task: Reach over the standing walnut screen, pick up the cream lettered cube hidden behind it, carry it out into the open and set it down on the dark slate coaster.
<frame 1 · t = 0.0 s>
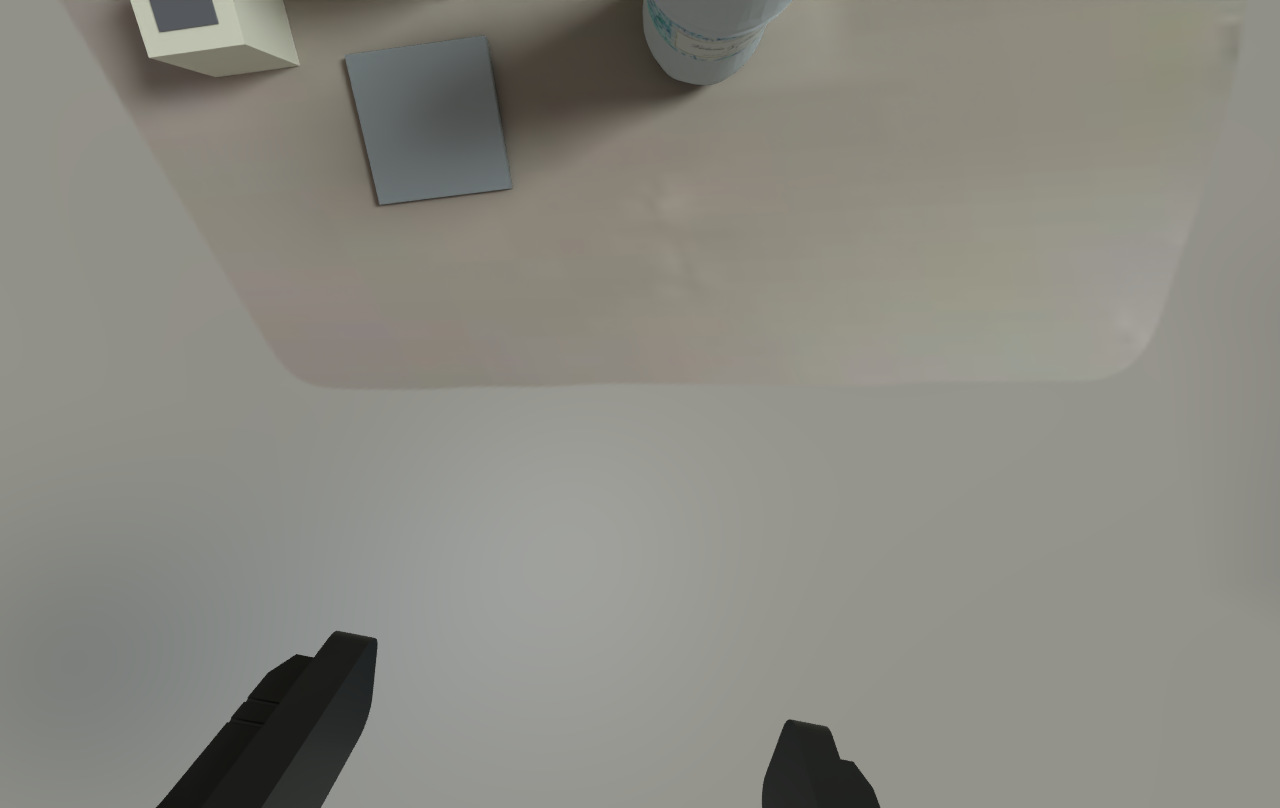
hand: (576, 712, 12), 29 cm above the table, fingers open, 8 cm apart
slate coaster: (432, 124, 36), on the table
bottle: (700, 29, 34), on the table
letter cube: (245, 22, 34), on the table
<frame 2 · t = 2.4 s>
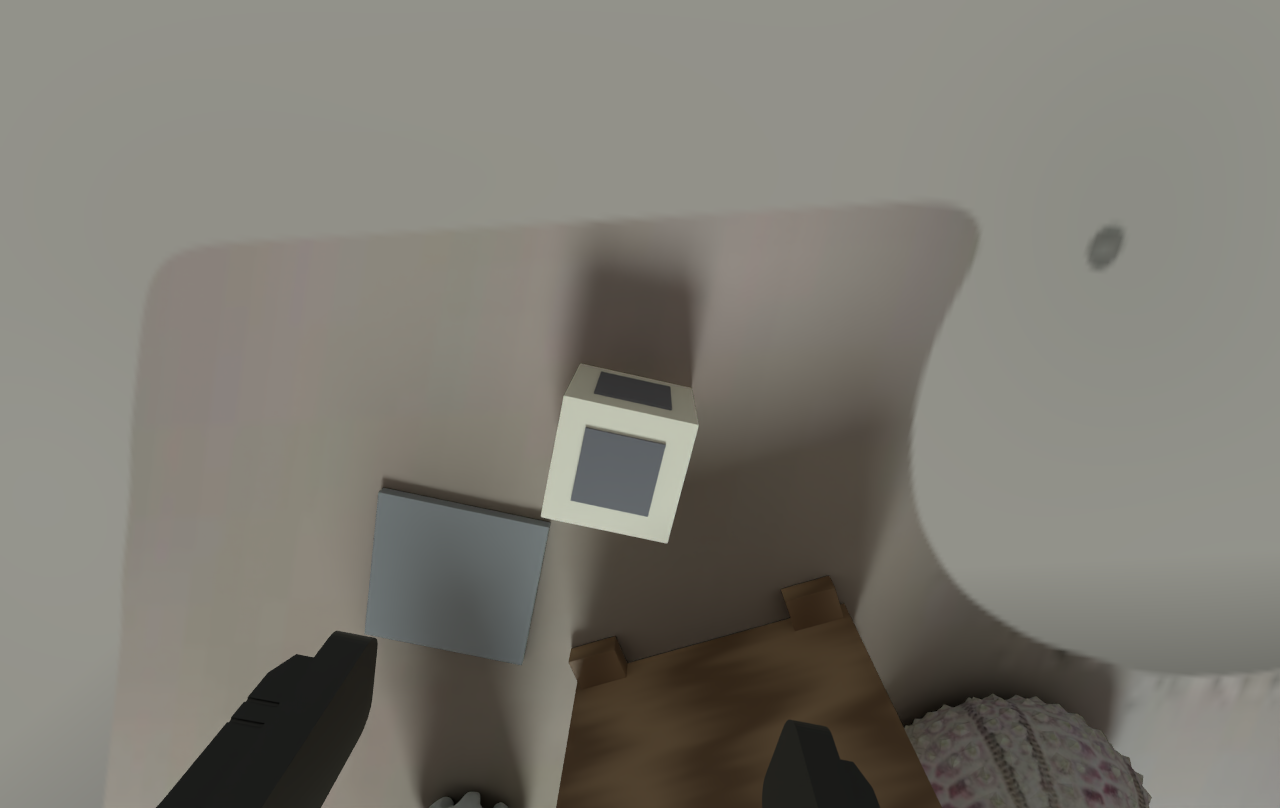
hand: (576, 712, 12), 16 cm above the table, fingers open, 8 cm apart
sea urchin shell: (968, 767, 33), on the table
slate coaster: (456, 576, 30), on the table
walnut screen: (711, 652, 31), on the table
letter cube: (624, 427, 28), on the table
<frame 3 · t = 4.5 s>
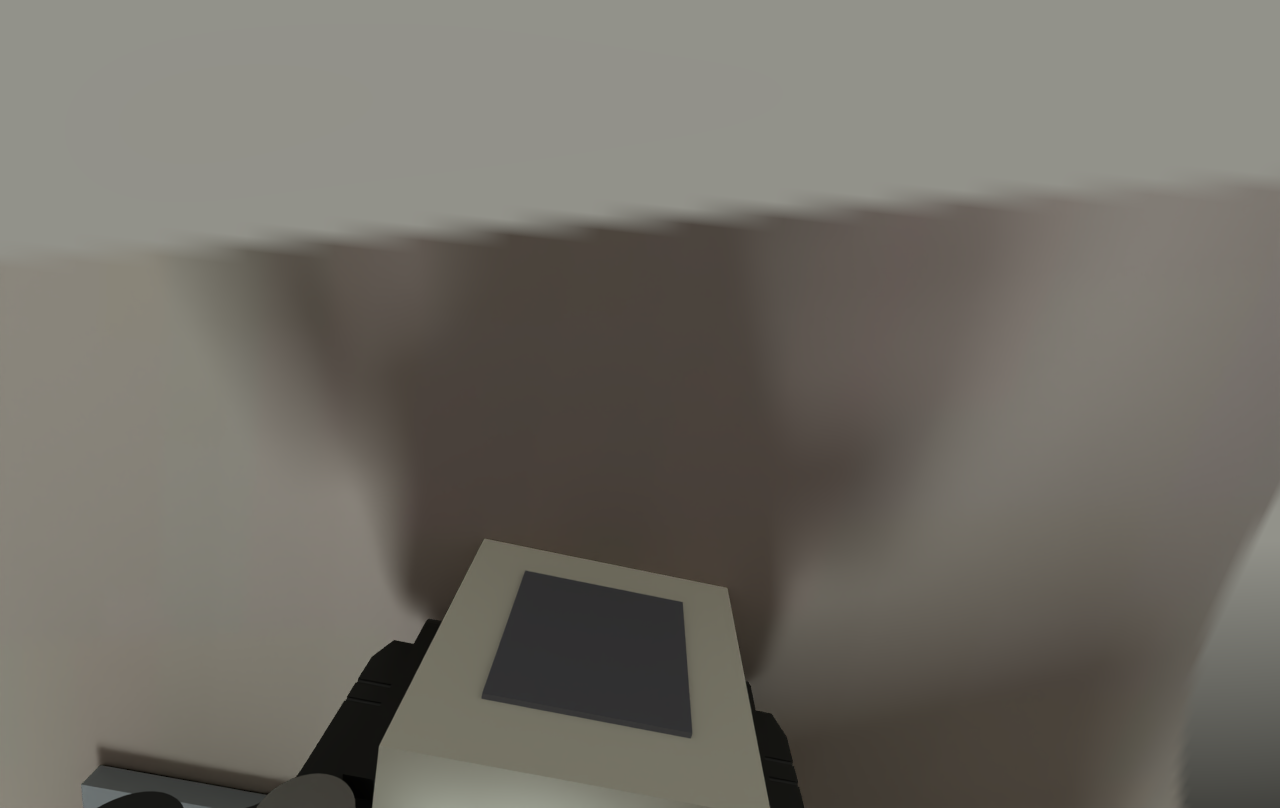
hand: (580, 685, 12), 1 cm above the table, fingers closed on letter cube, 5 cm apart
letter cube: (584, 659, 13), on the table, touching gripper
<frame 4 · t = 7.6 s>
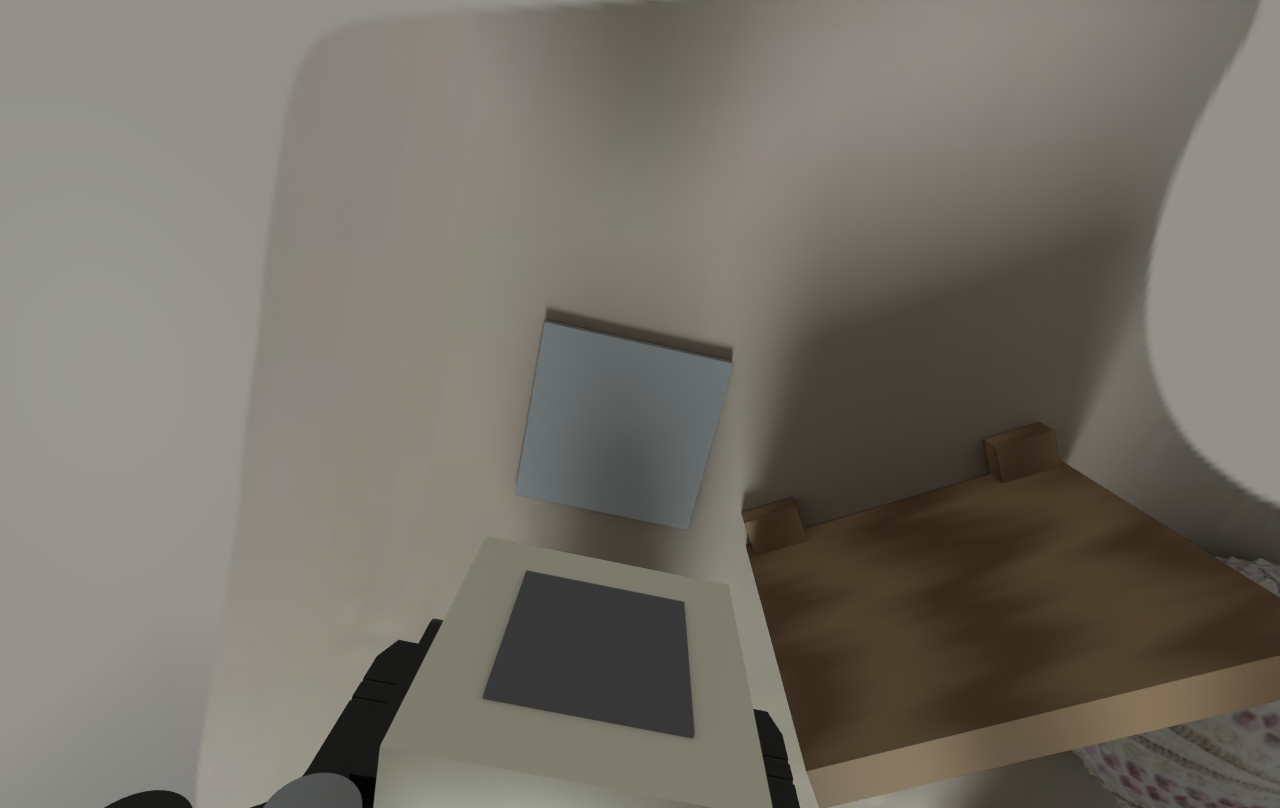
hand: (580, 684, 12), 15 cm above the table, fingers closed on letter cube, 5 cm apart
sea urchin shell: (1164, 651, 30), on the table
slate coaster: (620, 427, 27), on the table
walnut screen: (898, 516, 28), on the table
letter cube: (585, 659, 13), point 15 cm above the table, touching gripper
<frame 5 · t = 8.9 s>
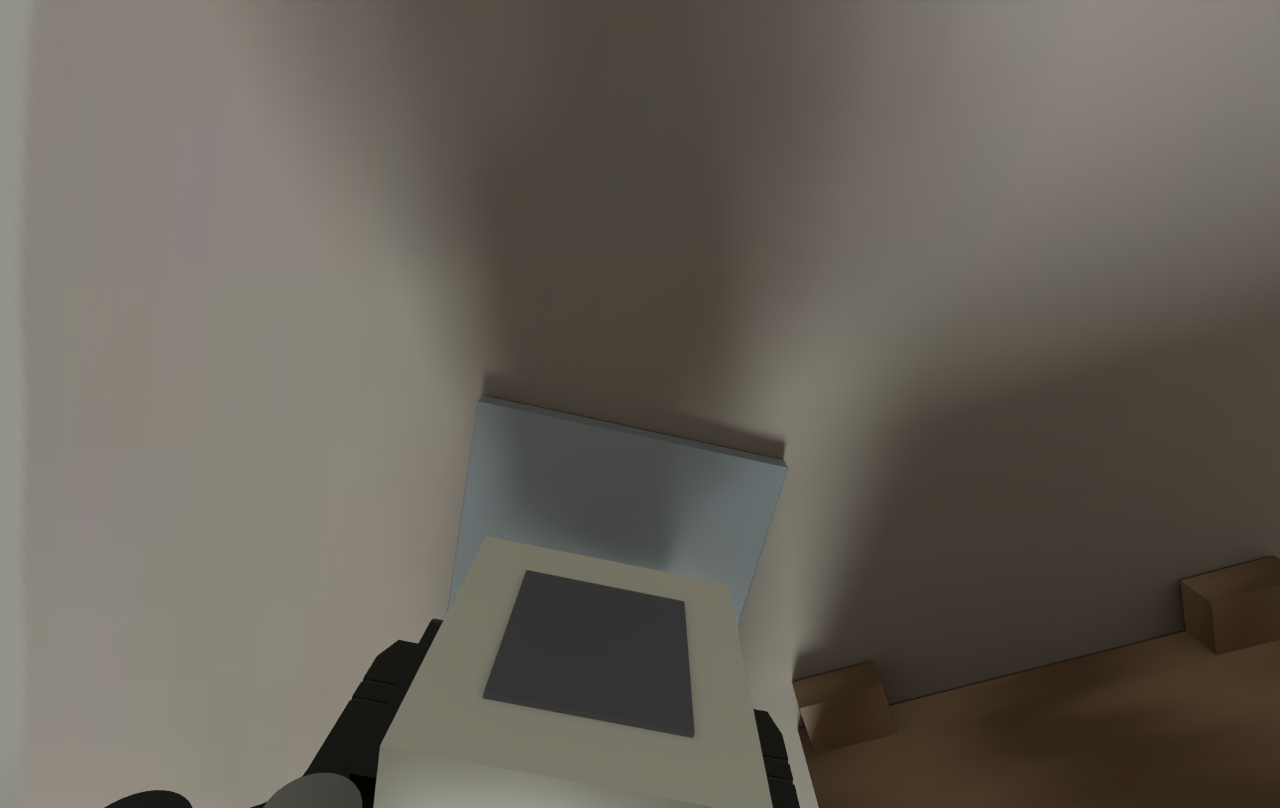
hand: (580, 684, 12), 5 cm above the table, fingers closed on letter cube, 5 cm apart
slate coaster: (605, 559, 17), on the table
walnut screen: (1034, 689, 18), on the table
letter cube: (585, 659, 13), point 4 cm above the table, touching gripper
when the fingers open (3 cm above the table, at t = 10.2 s): letter cube drops 2 cm, resting on slate coaster.
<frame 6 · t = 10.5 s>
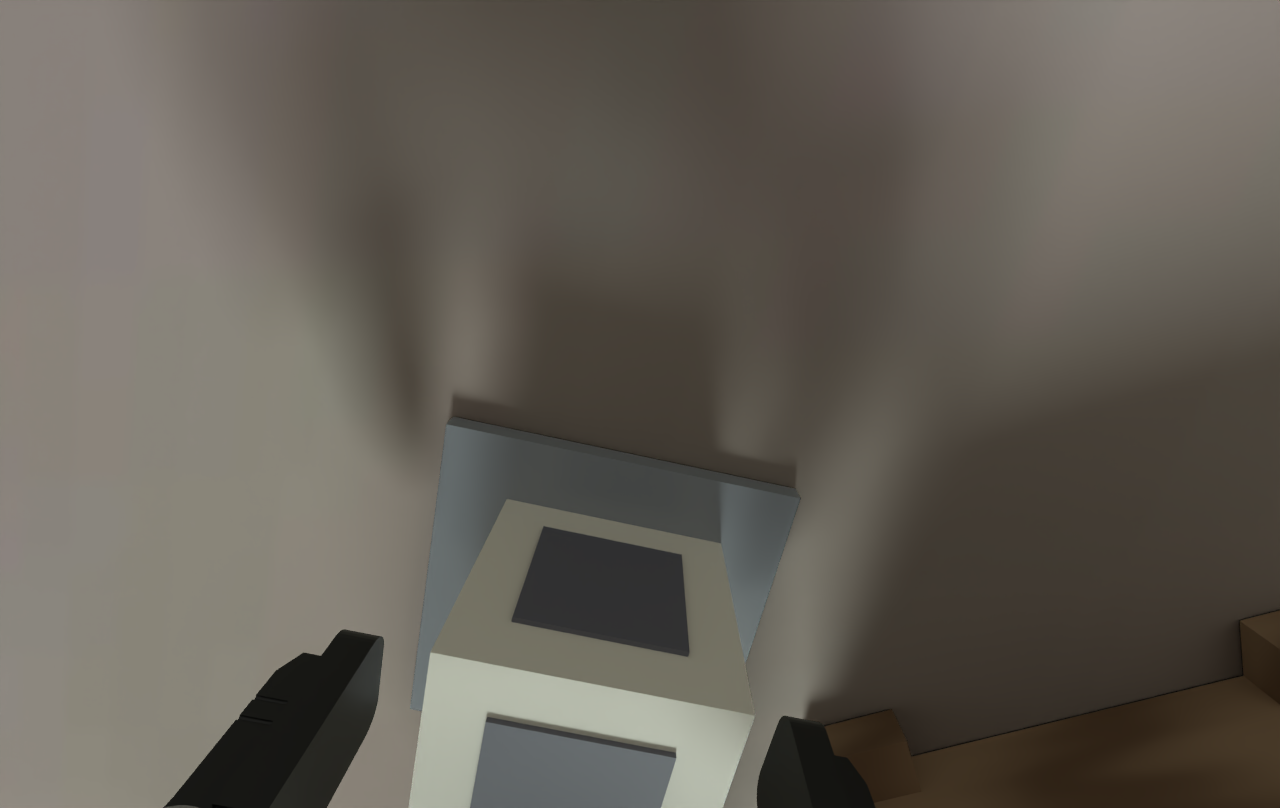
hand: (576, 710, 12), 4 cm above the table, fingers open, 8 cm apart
slate coaster: (593, 598, 15), on the table
walnut screen: (1073, 739, 16), on the table
letter cube: (593, 611, 15), resting on slate coaster
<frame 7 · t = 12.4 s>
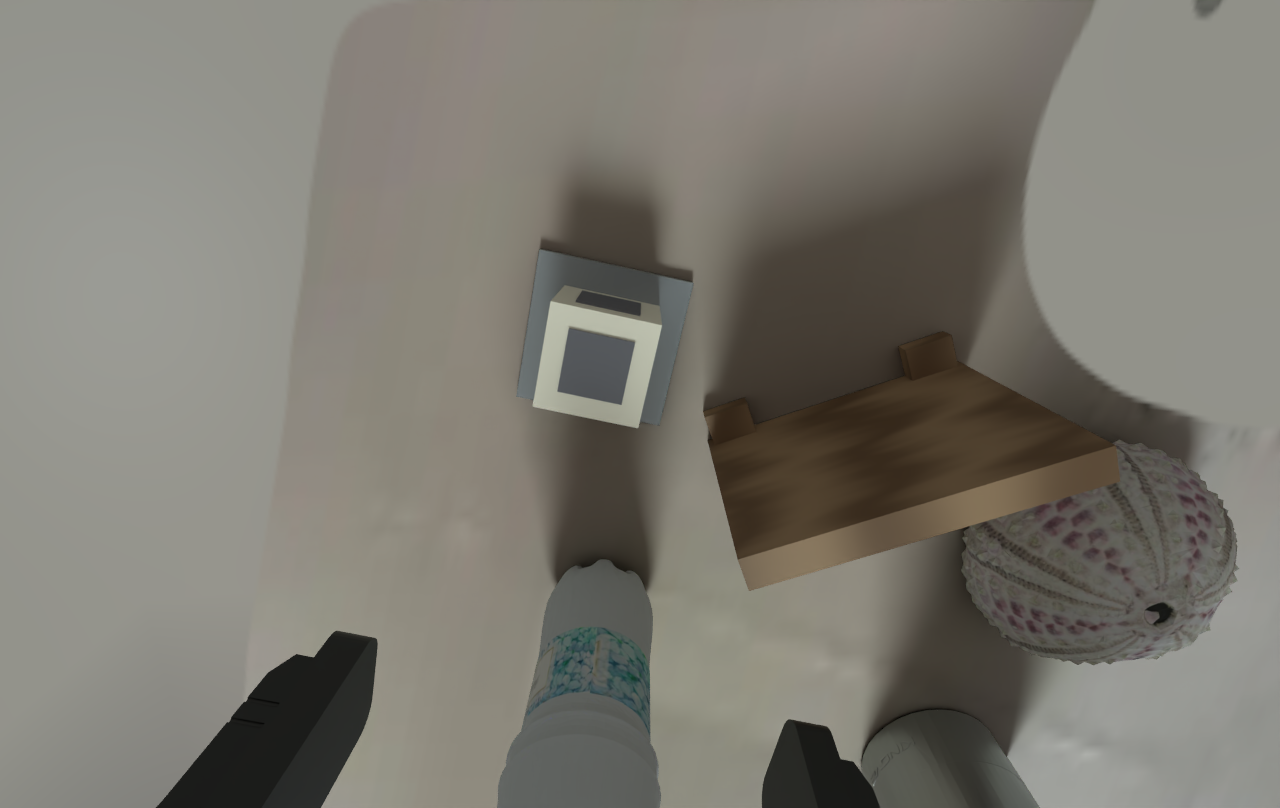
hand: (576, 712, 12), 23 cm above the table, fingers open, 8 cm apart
sea urchin shell: (1054, 527, 37), on the table
slate coaster: (602, 339, 33), on the table
walnut screen: (831, 412, 34), on the table
bottle: (601, 591, 38), on the table
letter cube: (603, 341, 32), resting on slate coaster
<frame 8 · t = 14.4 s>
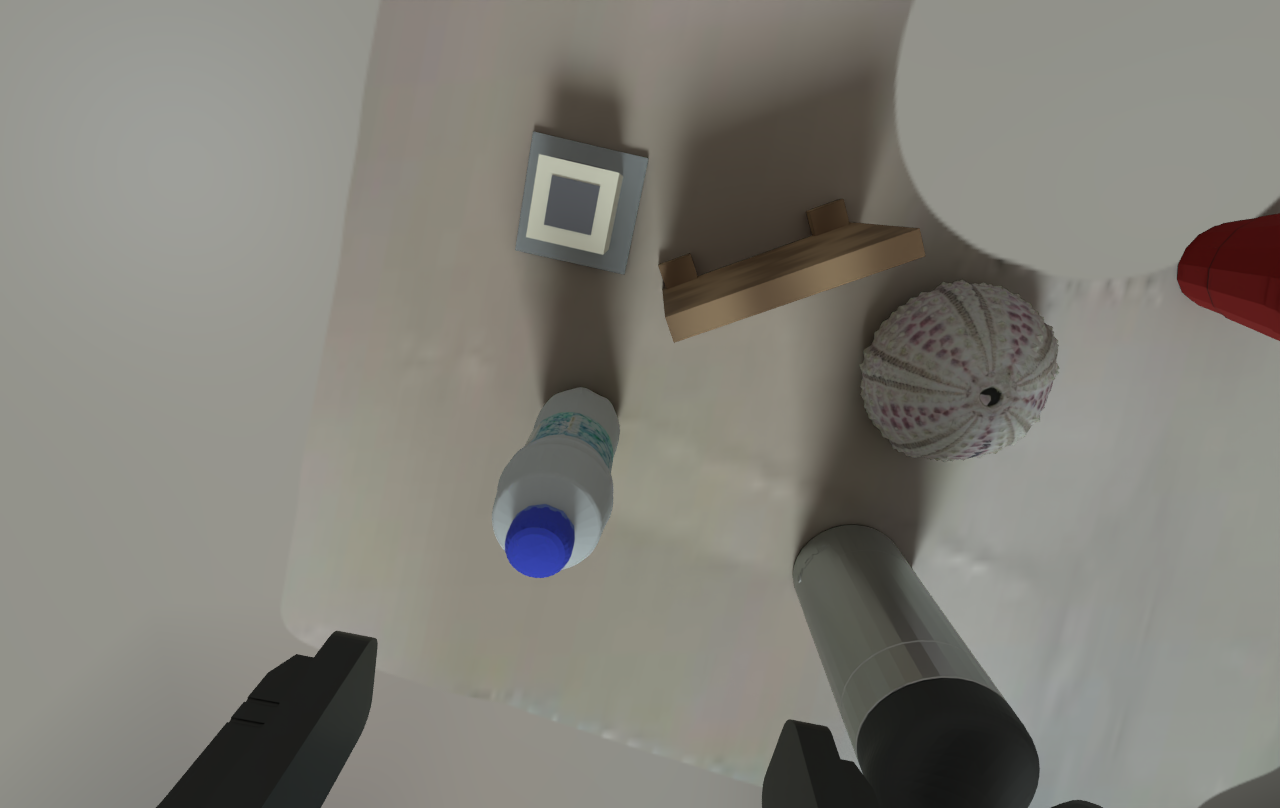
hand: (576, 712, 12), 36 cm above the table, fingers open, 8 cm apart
sea urchin shell: (936, 365, 47), on the table
slate coaster: (581, 205, 43), on the table
walnut screen: (757, 266, 44), on the table
bottle: (581, 419, 49), on the table
letter cube: (580, 205, 43), resting on slate coaster
plastic cup: (1214, 267, 44), on the table
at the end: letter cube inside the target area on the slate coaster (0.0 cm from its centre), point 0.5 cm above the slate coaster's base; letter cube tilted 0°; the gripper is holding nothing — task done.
